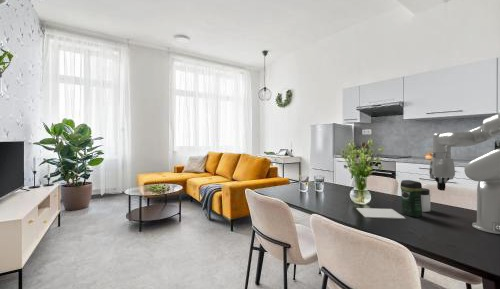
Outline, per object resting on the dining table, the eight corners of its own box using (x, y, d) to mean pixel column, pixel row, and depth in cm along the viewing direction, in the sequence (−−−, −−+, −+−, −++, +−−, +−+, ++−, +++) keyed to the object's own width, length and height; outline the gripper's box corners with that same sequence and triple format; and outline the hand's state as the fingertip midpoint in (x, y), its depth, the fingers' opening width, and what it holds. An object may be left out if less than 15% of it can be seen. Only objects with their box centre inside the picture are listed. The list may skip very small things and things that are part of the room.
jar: (432, 209, 136) (432, 189, 136) (428, 212, 131) (428, 191, 131) (414, 206, 143) (414, 187, 143) (409, 209, 138) (409, 188, 138)
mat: (405, 218, 122) (405, 217, 122) (365, 217, 125) (365, 216, 125) (391, 209, 138) (391, 208, 138) (356, 208, 141) (356, 207, 141)
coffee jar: (425, 216, 125) (425, 181, 124) (412, 217, 123) (412, 182, 123) (409, 211, 134) (409, 178, 134) (397, 212, 133) (397, 179, 132)
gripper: (430, 156, 123) (430, 191, 124) (462, 156, 121) (462, 191, 122) (422, 155, 131) (421, 188, 131) (452, 155, 129) (452, 188, 129)
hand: (441, 189), depth 126 cm, fingers closed
